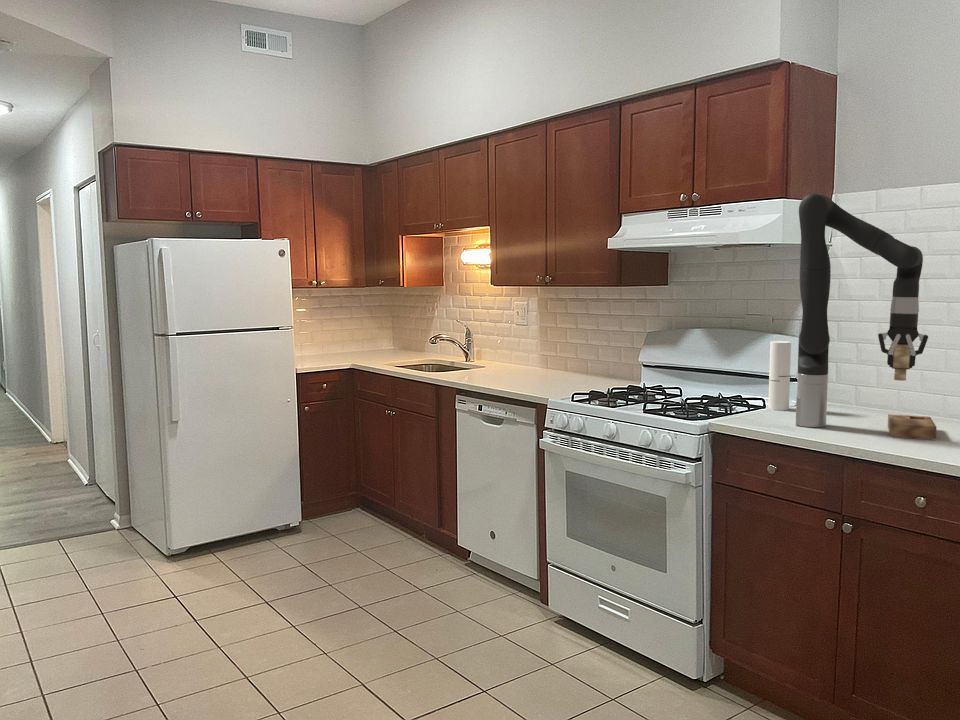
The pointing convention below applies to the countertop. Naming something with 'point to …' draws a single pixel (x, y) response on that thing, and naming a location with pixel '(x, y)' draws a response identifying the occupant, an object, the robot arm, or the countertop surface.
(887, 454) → the countertop surface
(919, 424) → the board
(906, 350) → the peg
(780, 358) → the cylindrical container
